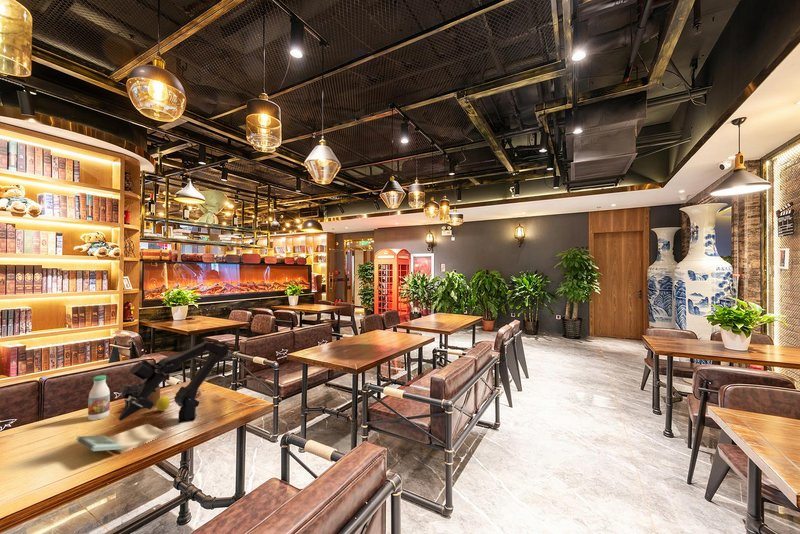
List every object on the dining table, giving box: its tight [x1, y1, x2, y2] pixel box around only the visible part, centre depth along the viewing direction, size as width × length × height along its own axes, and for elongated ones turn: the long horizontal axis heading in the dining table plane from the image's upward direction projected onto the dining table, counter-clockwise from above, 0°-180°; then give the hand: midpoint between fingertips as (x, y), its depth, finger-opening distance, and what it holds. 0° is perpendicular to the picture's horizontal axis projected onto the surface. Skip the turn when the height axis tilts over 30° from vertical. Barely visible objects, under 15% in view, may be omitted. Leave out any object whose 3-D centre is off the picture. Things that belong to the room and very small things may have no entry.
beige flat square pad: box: [108, 423, 167, 454], centre depth 137 cm, size 16×16×2 cm
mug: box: [142, 384, 161, 408], centre depth 169 cm, size 12×8×9 cm, turn 154°
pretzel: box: [195, 388, 202, 399], centre depth 183 cm, size 12×11×4 cm
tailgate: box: [75, 435, 122, 452], centre depth 126 cm, size 2×16×9 cm
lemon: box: [155, 395, 171, 412], centre depth 164 cm, size 6×6×8 cm
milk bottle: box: [87, 374, 111, 421], centre depth 156 cm, size 8×8×20 cm
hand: (119, 419), depth 132 cm, fingers closed
